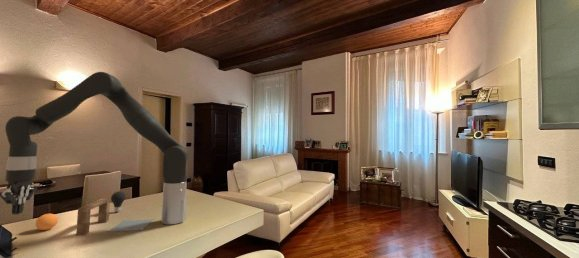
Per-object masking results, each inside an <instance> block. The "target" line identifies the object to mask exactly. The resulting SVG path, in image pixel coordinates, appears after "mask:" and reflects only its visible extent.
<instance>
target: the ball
mask: <svg viewBox="0 0 579 258" xmlns="http://www.w3.org/2000/svg"><path fill="white" fill-rule="evenodd" d="M58 222H59V218H58V216H57V215H56V214H54V213H45V214H43V215H40V216H39V217H38V218H37V219H36V221H35V228H36V229H38V230H40V231H48V230H51V229H52V228H54V227H55V226H56V225H57V224H58Z"/></svg>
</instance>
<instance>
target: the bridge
mask: <svg viewBox="0 0 579 258" xmlns="http://www.w3.org/2000/svg"><path fill="white" fill-rule="evenodd" d="M110 202H111V197H109V198H108V197H107V198H104V197H103V198H100V199H98V200H95V201H93V202H90V203H88V204H86V205H84V206H81V207H79V208H77V216H76V217H77V218H76V220H77V221H76V229H75V232H76V233H75V235H76V236H83V235H84V236H85V235H87V234H89V233H90V225H91V224H90V222H91V210H93V209H95V208H97V207H98V216H97V217H98V218H97V223H98V224H101V223H108V222H109V220H110V219H109V218H110V206H111V205H110Z"/></svg>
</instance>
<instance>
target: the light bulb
mask: <svg viewBox="0 0 579 258" xmlns="http://www.w3.org/2000/svg"><path fill="white" fill-rule="evenodd" d="M125 199H126V194H125V192H124V191H115V192H114V193H113V194H112V195H111V196H110V202H111V203H112V204H113V207H114V209H113V210H114V212H116V213H119V212H121V210H122V205H123V203H124V201H125Z"/></svg>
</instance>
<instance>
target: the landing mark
mask: <svg viewBox="0 0 579 258" xmlns="http://www.w3.org/2000/svg"><path fill="white" fill-rule="evenodd" d="M154 220H155V219H153V218H152V219H133V220H132V219H131V220H123V221H121V222H120V223H118V224H116V225H115V226H114V227H112V228H111V229H110V230H108V231H107V232H108V233H112V232H113V233H114V232H115V233H116V232H117V233H118V232H132V231H143V230H145V228H147V226H149V225H150V224H151V223H152V222H153V221H154Z"/></svg>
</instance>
